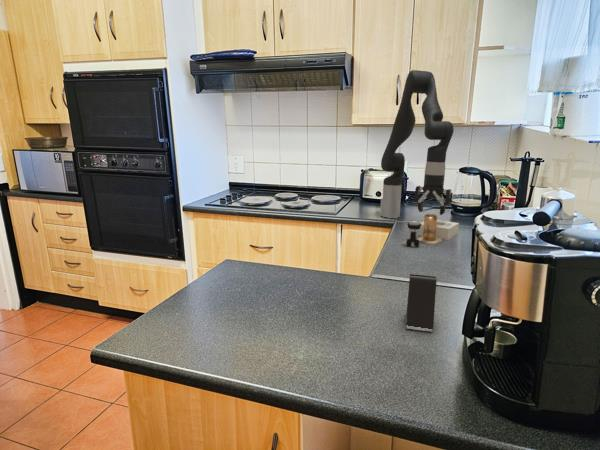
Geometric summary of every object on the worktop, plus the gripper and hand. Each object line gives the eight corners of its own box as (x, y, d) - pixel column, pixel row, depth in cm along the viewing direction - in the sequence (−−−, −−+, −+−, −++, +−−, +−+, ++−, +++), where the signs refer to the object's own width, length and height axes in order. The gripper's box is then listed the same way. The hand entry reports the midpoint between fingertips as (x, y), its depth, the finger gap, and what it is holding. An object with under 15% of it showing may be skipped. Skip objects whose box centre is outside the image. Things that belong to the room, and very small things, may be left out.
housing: (417, 234, 170) (418, 223, 169) (429, 229, 180) (430, 218, 179) (447, 240, 162) (448, 228, 161) (457, 234, 172) (459, 223, 171)
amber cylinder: (420, 239, 161) (422, 215, 158) (425, 237, 164) (427, 213, 162) (432, 241, 157) (434, 217, 155) (437, 239, 161) (439, 214, 159)
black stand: (402, 247, 153) (404, 222, 150) (401, 243, 158) (403, 219, 155) (419, 248, 151) (422, 223, 149) (418, 244, 156) (420, 220, 154)
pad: (415, 241, 160) (415, 239, 160) (423, 237, 166) (423, 235, 166) (434, 245, 155) (434, 243, 155) (441, 241, 161) (442, 239, 161)
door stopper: (406, 312, 99) (410, 268, 96) (431, 315, 97) (435, 270, 94) (405, 329, 90) (409, 281, 88) (432, 333, 89) (437, 284, 86)
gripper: (456, 173, 152) (451, 214, 157) (421, 170, 161) (417, 209, 165) (449, 175, 147) (445, 217, 151) (413, 172, 156) (410, 212, 160)
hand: (430, 213), depth 158 cm, fingers open, 8 cm apart
